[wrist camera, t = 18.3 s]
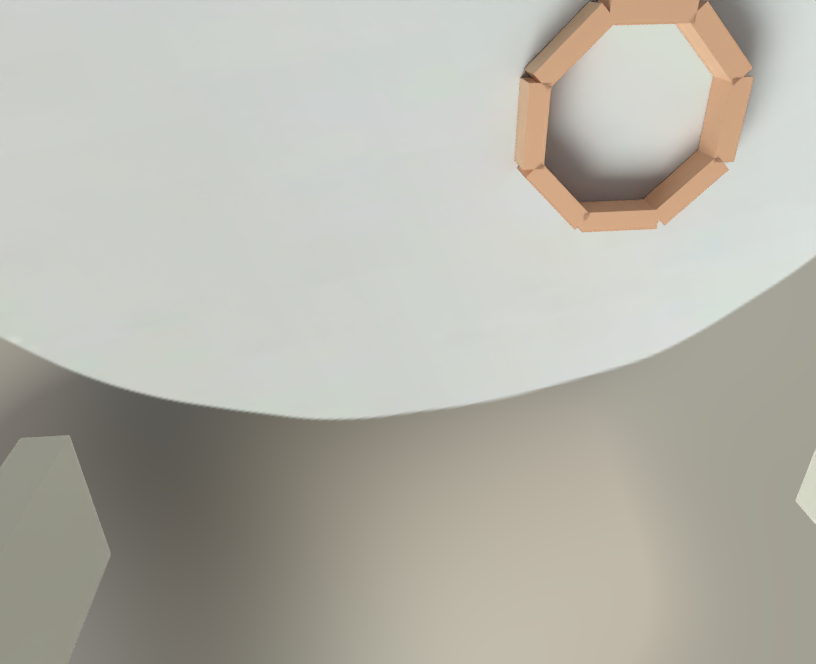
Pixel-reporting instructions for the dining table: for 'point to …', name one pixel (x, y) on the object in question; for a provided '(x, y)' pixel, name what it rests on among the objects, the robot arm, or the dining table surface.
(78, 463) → the robot arm
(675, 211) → the coaster ring
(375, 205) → the dining table surface
